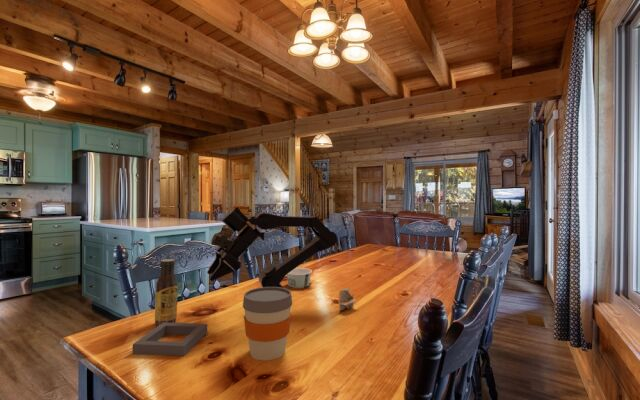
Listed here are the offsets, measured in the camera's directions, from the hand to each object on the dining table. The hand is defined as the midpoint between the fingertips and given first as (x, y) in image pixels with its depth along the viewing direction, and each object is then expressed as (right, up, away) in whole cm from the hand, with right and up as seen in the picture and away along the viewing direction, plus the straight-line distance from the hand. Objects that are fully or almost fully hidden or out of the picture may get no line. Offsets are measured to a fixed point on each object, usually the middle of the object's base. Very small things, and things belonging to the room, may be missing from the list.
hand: (209, 276), depth 102 cm
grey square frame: (-4, -14, -17) cm, 22 cm away
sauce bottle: (-12, -14, -4) cm, 19 cm away
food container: (+27, -14, +38) cm, 48 cm away
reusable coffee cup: (+23, -14, -22) cm, 35 cm away
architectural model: (+46, -14, +9) cm, 49 cm away
